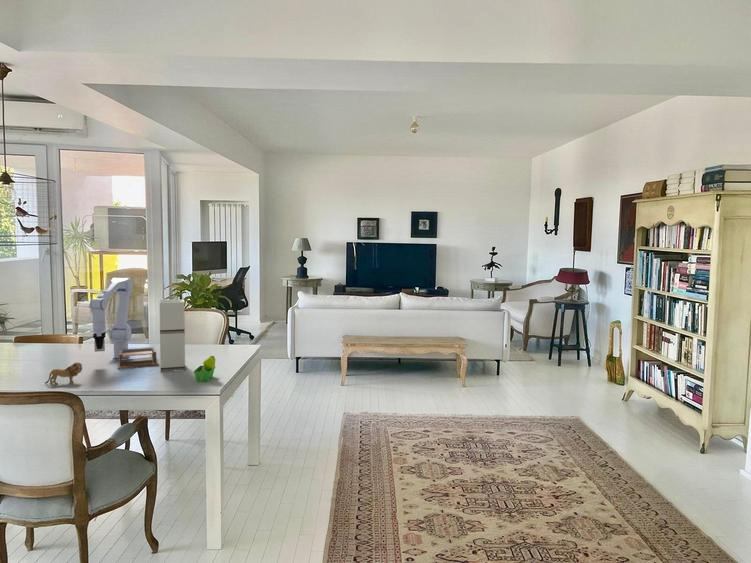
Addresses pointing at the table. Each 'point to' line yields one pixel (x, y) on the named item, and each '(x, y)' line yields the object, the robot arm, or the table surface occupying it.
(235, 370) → the table surface
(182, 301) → the striped white tower
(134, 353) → the trapdoor
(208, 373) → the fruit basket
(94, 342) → the pale sage cube
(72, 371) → the lion figurine
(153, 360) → the frame
